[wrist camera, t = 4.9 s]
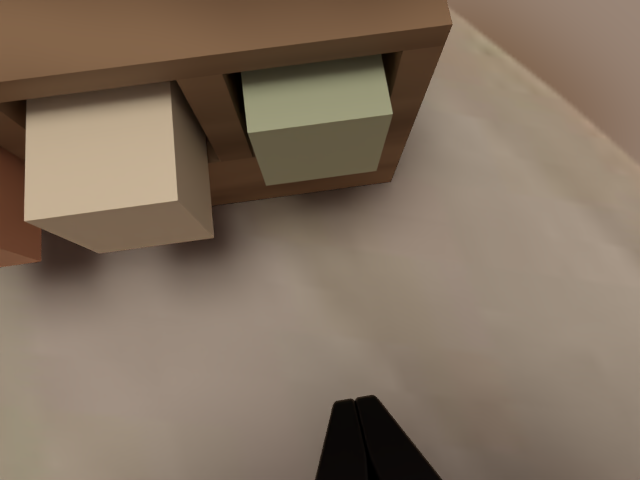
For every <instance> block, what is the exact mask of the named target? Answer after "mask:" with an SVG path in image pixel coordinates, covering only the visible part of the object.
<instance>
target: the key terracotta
mask: <svg viewBox="0 0 640 480" xmlns="http://www.w3.org/2000/svg"><path fill="white" fill-rule="evenodd" d="M24 199H25V161H23V160H22V159H20V158H19V157H17V156H15V155H14V154H12V153H11V152H9V151H8V150H6V149H4V148H3V147H1V146H0V267H5V266H12V265H20V264H27V263H34V262H41V234H42V229H41V228H39V227H36V226H34V225H32V224H29V223H27V222H25V221H24Z"/></svg>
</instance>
